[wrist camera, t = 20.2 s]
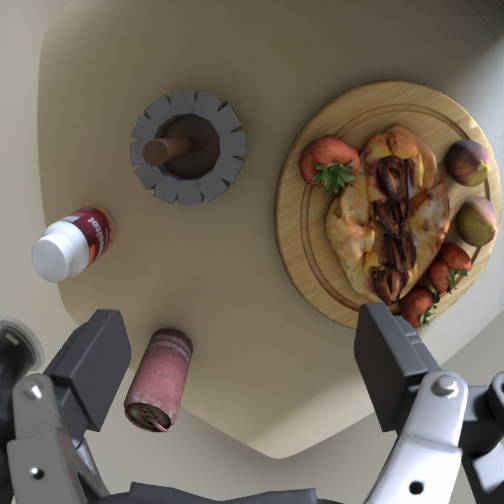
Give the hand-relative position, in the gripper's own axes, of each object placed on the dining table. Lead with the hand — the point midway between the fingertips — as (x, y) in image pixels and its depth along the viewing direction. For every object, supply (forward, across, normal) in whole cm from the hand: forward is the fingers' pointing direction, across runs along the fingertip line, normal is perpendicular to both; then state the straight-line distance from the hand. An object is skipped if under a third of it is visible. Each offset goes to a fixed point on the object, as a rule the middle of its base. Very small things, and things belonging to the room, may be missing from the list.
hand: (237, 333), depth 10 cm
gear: (+25, +6, -5) cm, 26 cm away
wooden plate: (+26, -19, +3) cm, 33 cm away
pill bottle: (+27, +19, +4) cm, 33 cm away
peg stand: (+26, +6, -5) cm, 28 cm away
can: (+27, +12, +21) cm, 36 cm away
